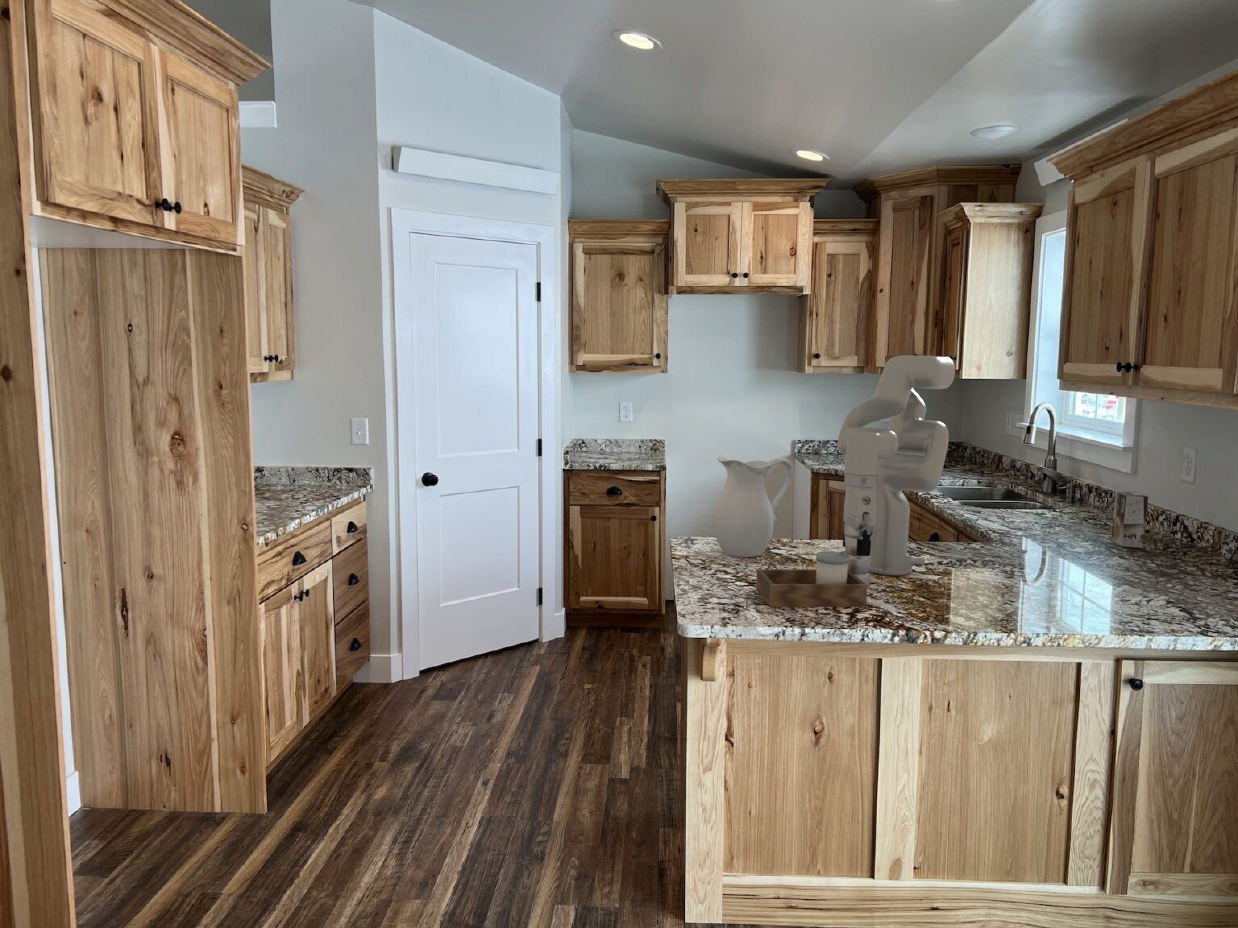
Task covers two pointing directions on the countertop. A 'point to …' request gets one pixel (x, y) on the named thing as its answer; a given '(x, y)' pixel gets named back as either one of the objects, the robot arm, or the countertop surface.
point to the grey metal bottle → (855, 556)
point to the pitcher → (747, 507)
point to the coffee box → (1129, 519)
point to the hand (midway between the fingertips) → (855, 551)
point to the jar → (831, 567)
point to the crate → (808, 589)
